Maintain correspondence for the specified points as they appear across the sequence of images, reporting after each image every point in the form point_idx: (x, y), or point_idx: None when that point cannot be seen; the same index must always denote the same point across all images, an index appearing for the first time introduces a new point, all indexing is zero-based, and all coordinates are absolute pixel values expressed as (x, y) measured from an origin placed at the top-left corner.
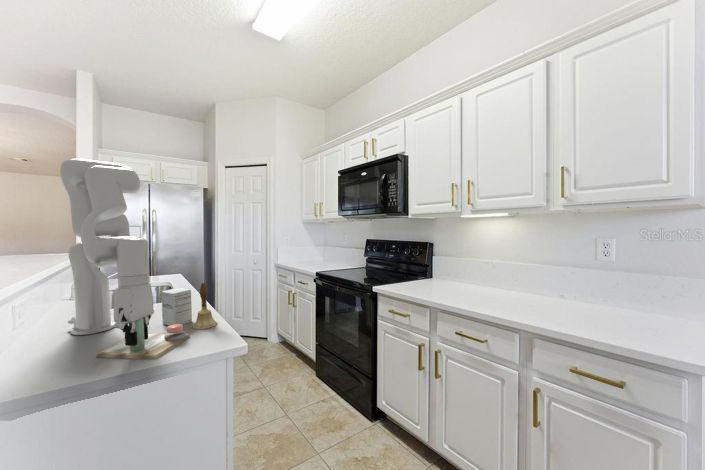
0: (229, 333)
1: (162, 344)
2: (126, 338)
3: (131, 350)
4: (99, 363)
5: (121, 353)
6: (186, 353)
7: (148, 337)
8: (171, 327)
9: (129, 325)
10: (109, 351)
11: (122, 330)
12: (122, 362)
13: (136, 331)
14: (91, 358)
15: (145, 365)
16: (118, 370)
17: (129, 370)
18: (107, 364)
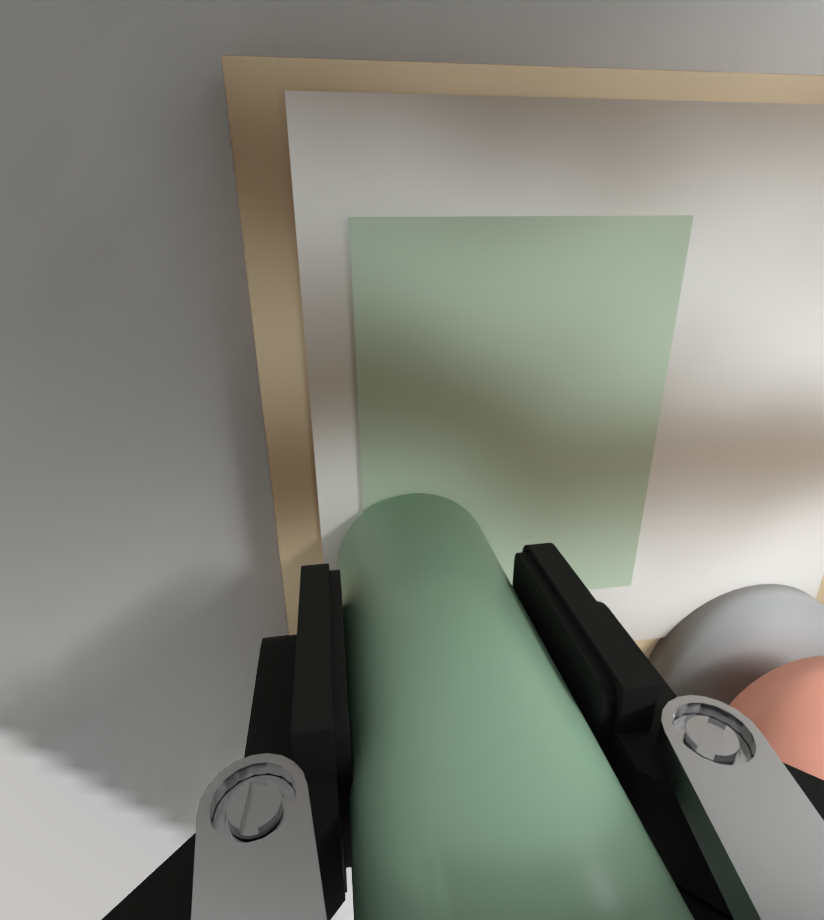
0: None
1: None
2: (259, 700)
3: (337, 562)
4: (87, 313)
5: (296, 452)
6: None
7: (779, 394)
8: (808, 760)
9: (372, 911)
10: (323, 229)
11: (127, 902)
12: (182, 554)
13: (346, 890)
14: (182, 21)
15: (182, 779)
16: (25, 657)
17: (61, 739)
18: (96, 438)
